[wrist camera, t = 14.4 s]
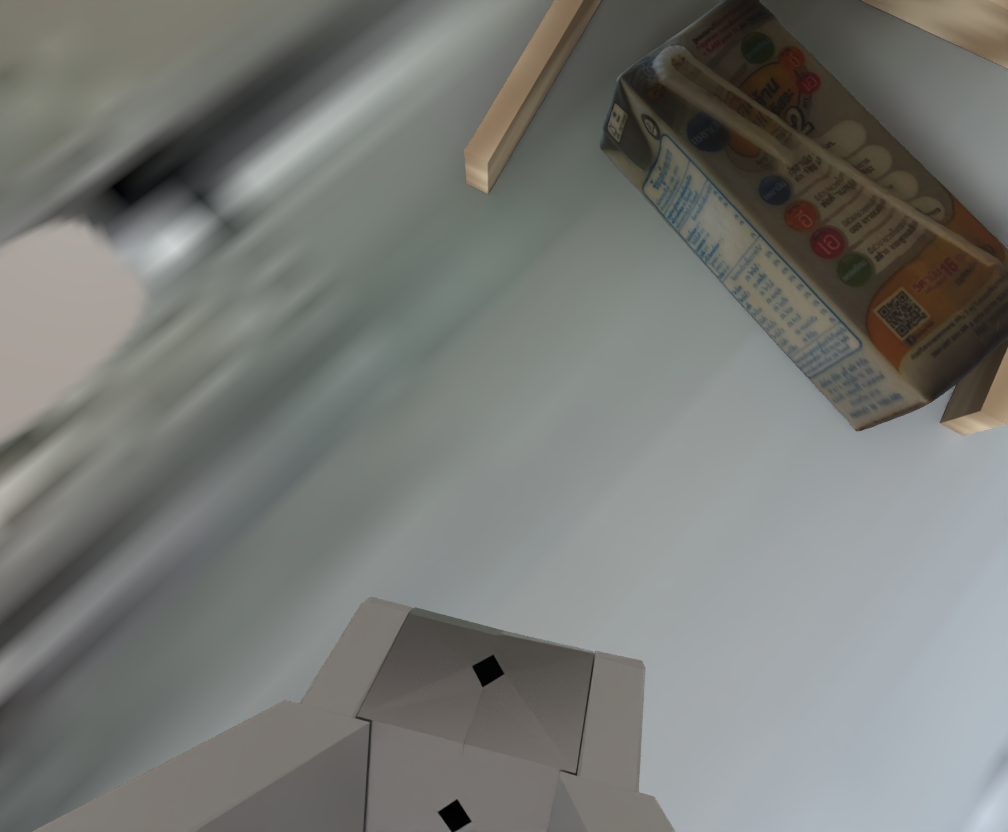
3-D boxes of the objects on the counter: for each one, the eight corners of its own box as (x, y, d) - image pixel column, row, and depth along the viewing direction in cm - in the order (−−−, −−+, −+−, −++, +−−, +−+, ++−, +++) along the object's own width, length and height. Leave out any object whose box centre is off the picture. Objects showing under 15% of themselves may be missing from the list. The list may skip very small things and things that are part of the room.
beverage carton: (710, 59, 39) (753, -39, 33) (975, 340, 36) (1080, 294, 30) (592, 148, 38) (612, 65, 32) (856, 443, 35) (937, 419, 29)
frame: (466, 183, 37) (464, 151, 34) (646, -121, 41) (658, -174, 38) (964, 435, 35) (1006, 424, 32) (1110, 94, 39) (1161, 55, 36)
